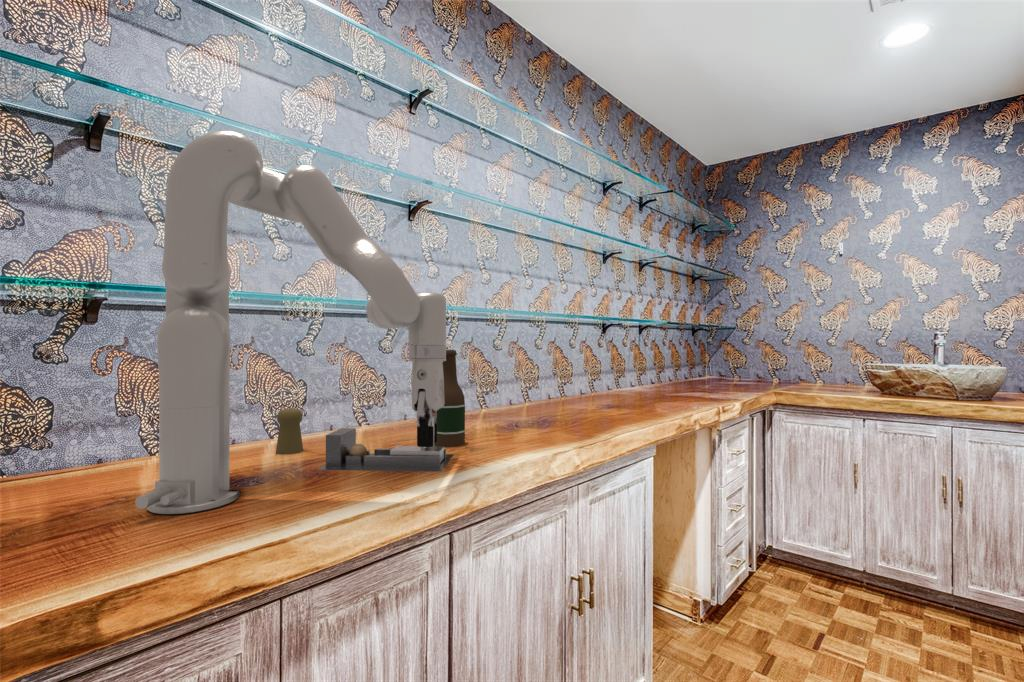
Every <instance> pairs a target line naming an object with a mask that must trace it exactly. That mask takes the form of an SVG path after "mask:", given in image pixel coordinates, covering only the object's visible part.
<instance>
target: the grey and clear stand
mask: <svg viewBox="0 0 1024 682" xmlns="http://www.w3.org/2000/svg"><path fill="white" fill-rule="evenodd" d="M427 415H428V414H427ZM434 415H435V411H432V426H434ZM391 449H392V450H390V456H440V463H441V461H442V460H443V459H444V449H445V447H440V446H434V445H433V446H432V447H418V446H417V445H416V446H415V445H396V446H395V447H393V448H391Z"/></svg>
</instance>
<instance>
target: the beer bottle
mask: <svg viewBox="0 0 1024 682" xmlns="http://www.w3.org/2000/svg"><path fill="white" fill-rule="evenodd" d="M457 356H458V353H457V350H455V349H446V361H442V363H443V373H444V396H445V404H444V406H443V407H442V408H440V409H439V410H437V442H436V443H434V446H440V447H444V448H457V447H461V446H464V445H465V443H466V401H465V395H464V392H463V390H462V387H461V386H460V384H459V383H458V377H457V376H458V373H457Z"/></svg>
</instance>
